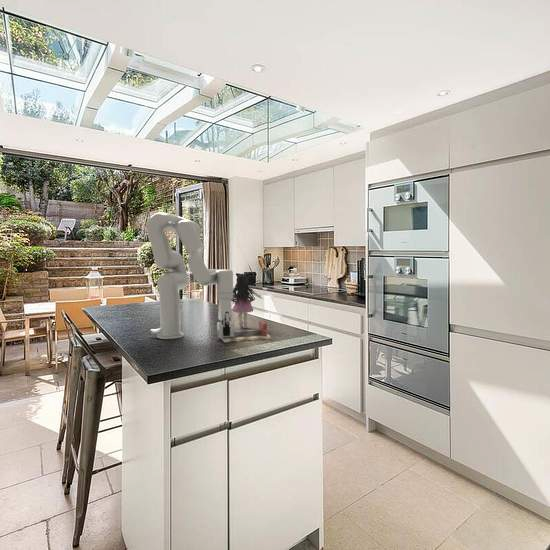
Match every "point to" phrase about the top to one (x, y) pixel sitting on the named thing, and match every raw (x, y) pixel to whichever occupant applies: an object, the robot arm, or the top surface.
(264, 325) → the board
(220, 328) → the lock block
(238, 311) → the figurine
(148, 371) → the top surface
